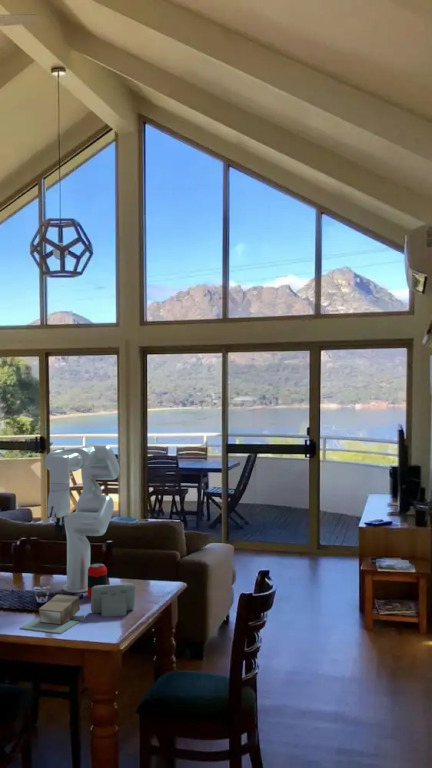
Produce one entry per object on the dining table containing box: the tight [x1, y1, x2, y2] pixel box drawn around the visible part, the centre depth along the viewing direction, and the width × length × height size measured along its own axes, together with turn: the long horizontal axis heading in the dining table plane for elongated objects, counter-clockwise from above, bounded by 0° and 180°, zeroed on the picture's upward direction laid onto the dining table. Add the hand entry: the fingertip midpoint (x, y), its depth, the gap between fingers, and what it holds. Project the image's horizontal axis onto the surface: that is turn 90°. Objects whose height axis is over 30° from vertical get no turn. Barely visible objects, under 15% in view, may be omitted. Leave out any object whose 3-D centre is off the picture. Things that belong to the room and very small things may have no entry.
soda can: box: [87, 563, 108, 599], centre depth 261 cm, size 8×8×12 cm
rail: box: [69, 613, 85, 622], centre depth 233 cm, size 2×16×2 cm, turn 71°
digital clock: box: [90, 583, 136, 618], centre depth 239 cm, size 16×9×11 cm, turn 93°
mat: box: [19, 617, 80, 635], centre depth 225 cm, size 12×16×1 cm
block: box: [38, 593, 81, 625], centre depth 231 cm, size 5×9×12 cm
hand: (59, 534), depth 251 cm, fingers closed
